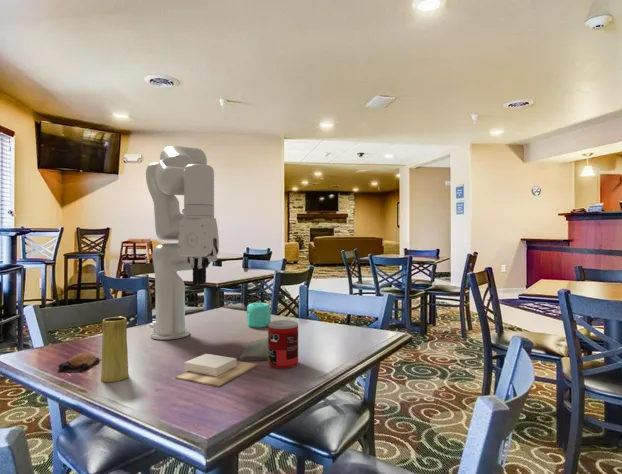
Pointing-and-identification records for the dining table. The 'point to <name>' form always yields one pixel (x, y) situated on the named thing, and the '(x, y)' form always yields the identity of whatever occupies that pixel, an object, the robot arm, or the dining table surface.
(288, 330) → the canned food
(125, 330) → the vase
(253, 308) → the decorative dice
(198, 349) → the dining table surface
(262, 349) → the stone slab
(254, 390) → the dining table surface
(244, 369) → the mat
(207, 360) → the tile
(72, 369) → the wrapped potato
